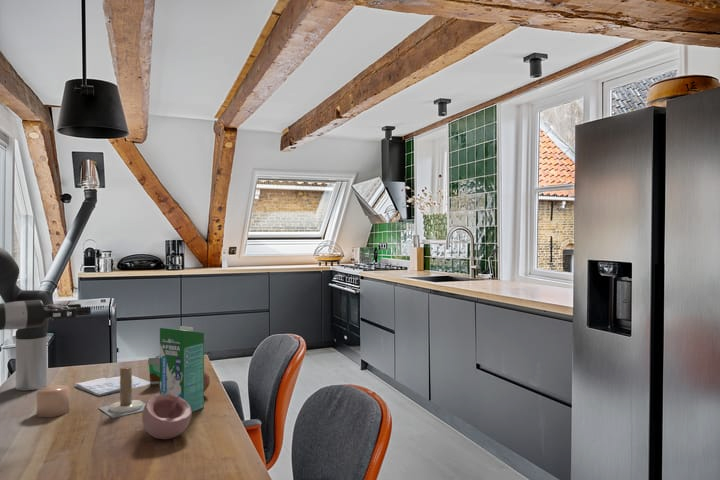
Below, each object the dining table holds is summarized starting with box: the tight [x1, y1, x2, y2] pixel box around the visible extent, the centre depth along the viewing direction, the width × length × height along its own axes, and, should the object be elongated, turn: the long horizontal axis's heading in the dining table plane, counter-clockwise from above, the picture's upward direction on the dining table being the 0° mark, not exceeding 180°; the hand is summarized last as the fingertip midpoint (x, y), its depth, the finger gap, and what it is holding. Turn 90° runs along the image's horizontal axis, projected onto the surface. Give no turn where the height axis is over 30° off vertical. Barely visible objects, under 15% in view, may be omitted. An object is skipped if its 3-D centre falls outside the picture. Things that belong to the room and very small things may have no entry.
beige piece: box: [108, 366, 143, 413], centre depth 163 cm, size 9×9×12 cm
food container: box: [147, 355, 160, 387], centre depth 192 cm, size 12×6×10 cm, turn 168°
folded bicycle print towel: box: [74, 374, 150, 397], centre depth 189 cm, size 19×20×2 cm
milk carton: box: [159, 325, 205, 413], centre depth 162 cm, size 9×9×25 cm
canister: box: [35, 384, 70, 418], centre depth 159 cm, size 8×8×7 cm
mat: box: [98, 399, 147, 419], centre depth 163 cm, size 12×12×1 cm
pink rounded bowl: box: [141, 393, 193, 440], centre depth 140 cm, size 12×12×12 cm
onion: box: [204, 370, 211, 392], centre depth 176 cm, size 10×9×10 cm
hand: (85, 308), depth 160 cm, fingers open, 8 cm apart
